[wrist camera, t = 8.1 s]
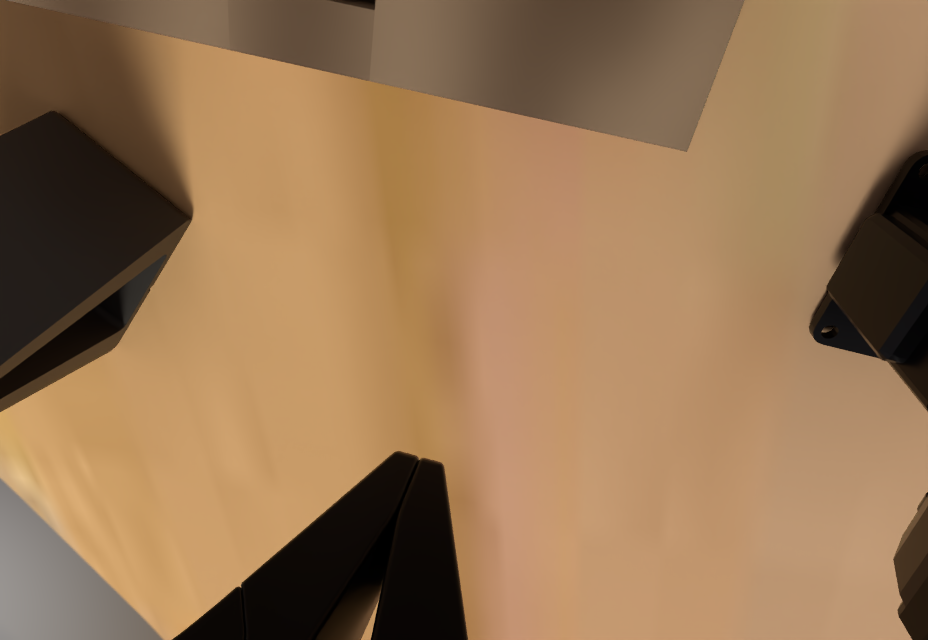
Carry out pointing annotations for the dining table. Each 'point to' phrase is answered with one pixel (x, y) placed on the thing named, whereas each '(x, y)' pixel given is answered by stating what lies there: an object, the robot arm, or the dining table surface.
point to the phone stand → (71, 252)
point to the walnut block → (478, 50)
